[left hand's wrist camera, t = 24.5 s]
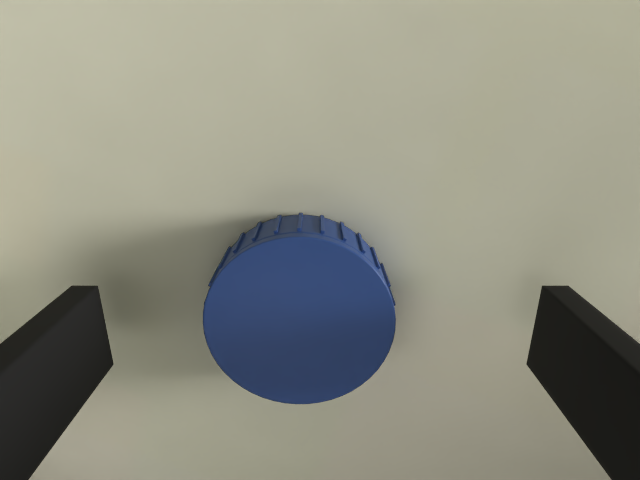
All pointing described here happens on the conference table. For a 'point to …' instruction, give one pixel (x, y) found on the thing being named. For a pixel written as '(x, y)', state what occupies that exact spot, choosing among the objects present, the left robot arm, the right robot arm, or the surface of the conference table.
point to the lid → (299, 310)
